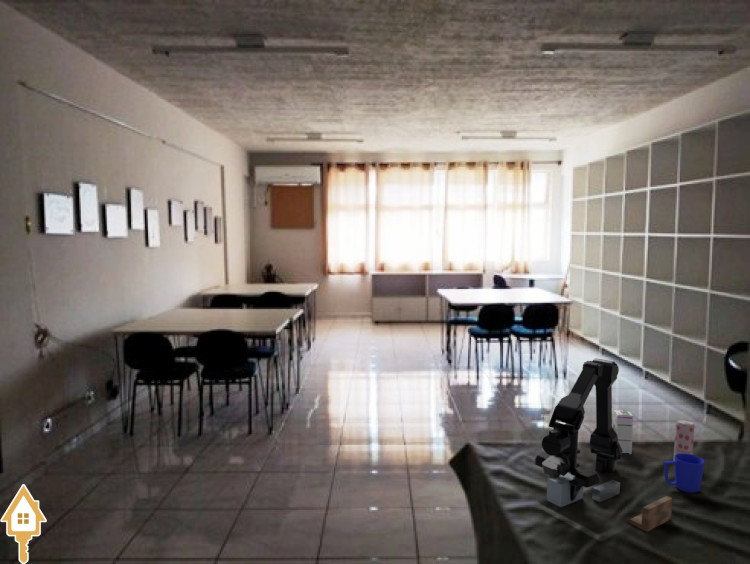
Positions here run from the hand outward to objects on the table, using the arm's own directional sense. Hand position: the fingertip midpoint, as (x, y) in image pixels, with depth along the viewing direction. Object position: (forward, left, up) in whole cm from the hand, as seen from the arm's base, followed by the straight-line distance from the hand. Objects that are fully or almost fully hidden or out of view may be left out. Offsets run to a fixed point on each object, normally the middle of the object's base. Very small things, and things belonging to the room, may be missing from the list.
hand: (564, 496), depth 163 cm
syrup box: (-51, -14, -2) cm, 53 cm away
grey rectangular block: (-12, +6, -1) cm, 13 cm away
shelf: (-12, +8, -2) cm, 15 cm away
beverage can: (-59, +4, -2) cm, 59 cm away
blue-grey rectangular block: (0, 0, -2) cm, 2 cm away
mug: (-39, +14, -2) cm, 41 cm away
